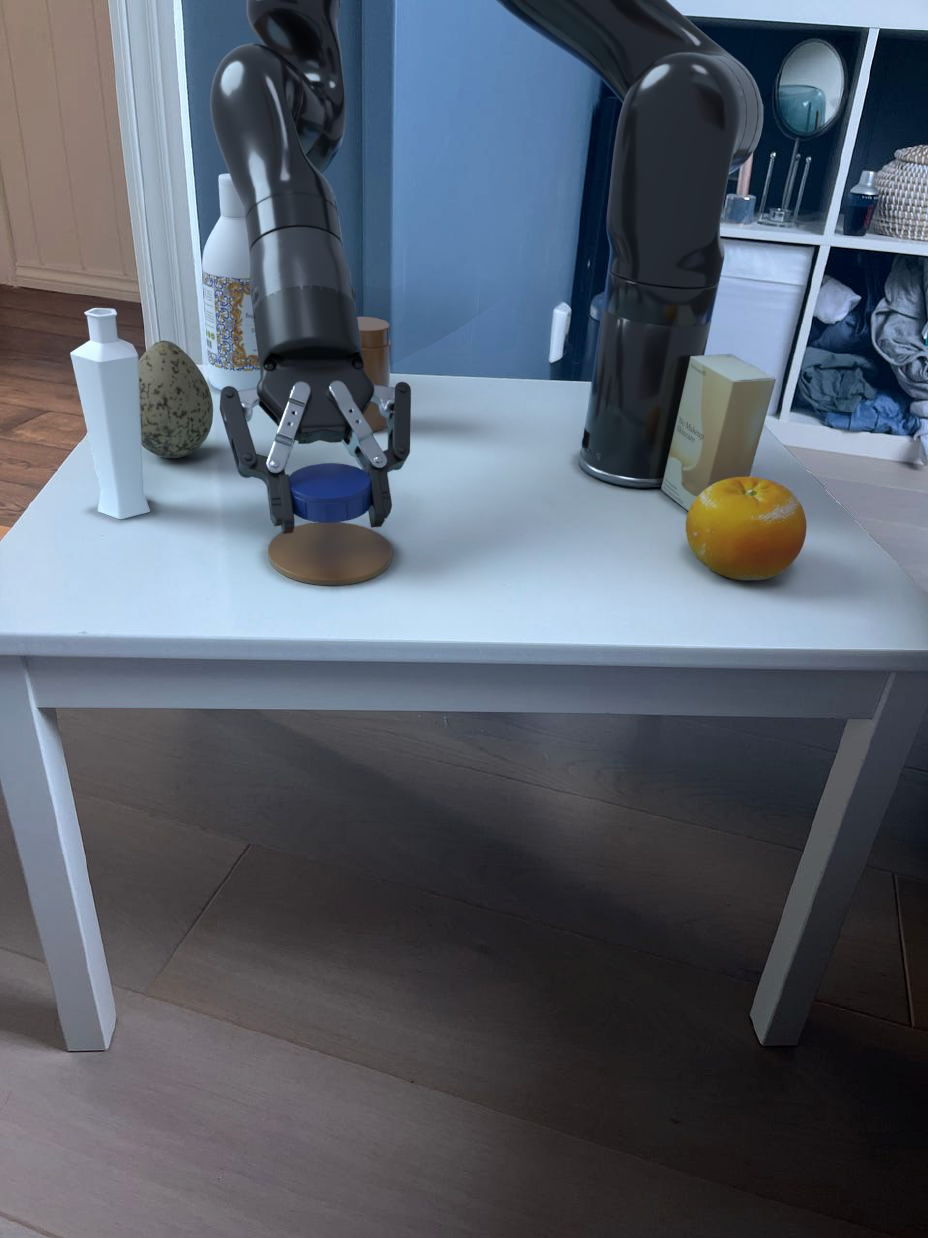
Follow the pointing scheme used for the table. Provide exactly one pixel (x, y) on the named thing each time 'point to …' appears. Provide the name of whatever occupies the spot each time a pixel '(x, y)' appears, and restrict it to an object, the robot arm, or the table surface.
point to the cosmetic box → (716, 425)
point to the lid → (330, 492)
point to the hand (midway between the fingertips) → (333, 526)
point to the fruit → (746, 528)
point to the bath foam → (229, 297)
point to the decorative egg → (172, 402)
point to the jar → (375, 362)
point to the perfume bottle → (112, 414)
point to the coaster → (330, 553)
